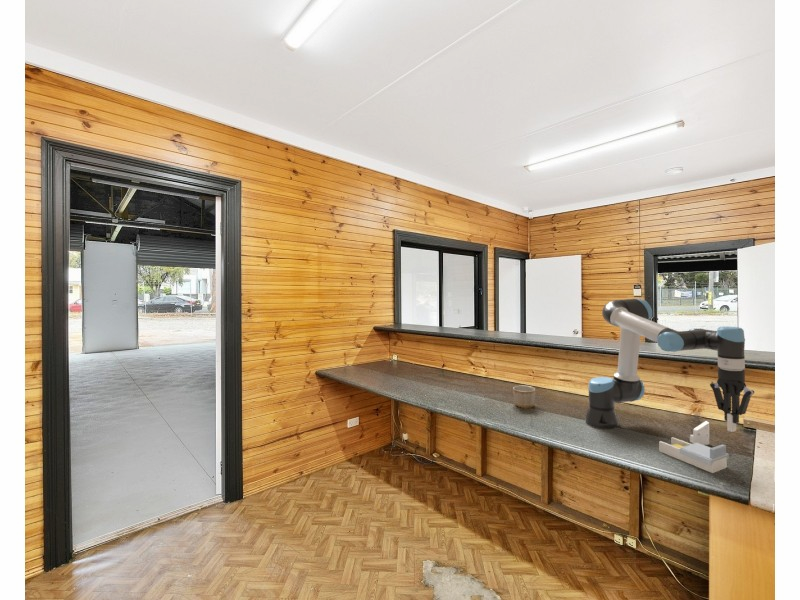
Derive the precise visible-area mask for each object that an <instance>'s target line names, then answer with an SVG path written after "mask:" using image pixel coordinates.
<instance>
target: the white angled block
mask: <svg viewBox="0 0 800 600" xmlns="http://www.w3.org/2000/svg"><path fill="white" fill-rule="evenodd" d="M692 431H693V432H692V433H693V434H689V443H691V444H693V443H699V444H702V445H705V446H708V445H710V422H709V421H707V420H705V421H703V422H701V423H700V424H699V425H697V426H696V427H694V428H693V430H692Z"/></svg>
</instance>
